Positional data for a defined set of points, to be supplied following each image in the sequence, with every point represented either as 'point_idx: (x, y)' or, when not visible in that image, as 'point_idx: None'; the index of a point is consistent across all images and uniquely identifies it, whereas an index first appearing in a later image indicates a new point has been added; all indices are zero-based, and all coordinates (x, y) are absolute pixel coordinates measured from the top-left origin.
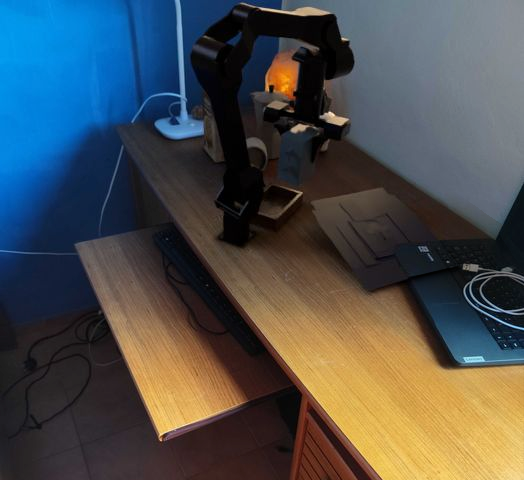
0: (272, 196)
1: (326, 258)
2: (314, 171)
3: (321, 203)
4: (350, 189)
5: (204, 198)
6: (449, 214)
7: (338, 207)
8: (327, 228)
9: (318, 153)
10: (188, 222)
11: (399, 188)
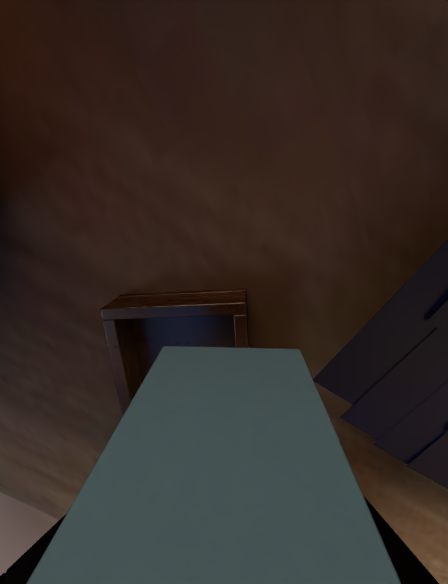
0: (143, 318)
1: (428, 486)
2: (303, 357)
3: (358, 364)
4: (379, 32)
5: (7, 419)
6: None
7: (431, 345)
8: (423, 457)
9: (390, 536)
10: (66, 511)
11: None
